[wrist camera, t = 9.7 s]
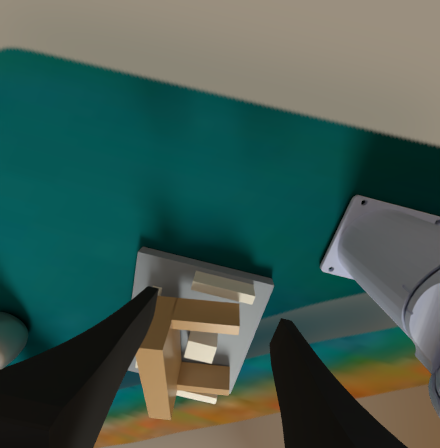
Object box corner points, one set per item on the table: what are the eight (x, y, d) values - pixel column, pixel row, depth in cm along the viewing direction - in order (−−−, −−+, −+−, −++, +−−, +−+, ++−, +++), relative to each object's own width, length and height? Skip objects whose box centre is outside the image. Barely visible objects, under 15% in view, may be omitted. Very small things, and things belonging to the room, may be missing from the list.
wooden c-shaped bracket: (239, 303, 20) (240, 358, 16) (229, 372, 26) (227, 426, 21) (155, 295, 20) (133, 347, 16) (164, 365, 26) (149, 417, 21)
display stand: (271, 278, 22) (278, 300, 19) (230, 384, 28) (230, 414, 25) (142, 246, 22) (127, 263, 19) (127, 360, 28) (113, 387, 24)
